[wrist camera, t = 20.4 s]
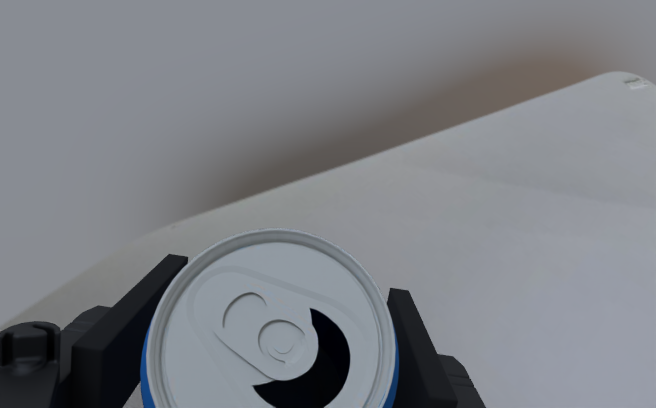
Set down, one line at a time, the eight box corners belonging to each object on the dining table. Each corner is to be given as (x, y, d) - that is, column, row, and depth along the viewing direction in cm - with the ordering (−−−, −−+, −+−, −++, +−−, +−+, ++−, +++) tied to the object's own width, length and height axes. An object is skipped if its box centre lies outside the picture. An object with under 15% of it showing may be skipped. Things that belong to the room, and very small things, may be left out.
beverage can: (285, 520, 18) (308, 598, 7) (169, 421, 19) (54, 371, 9) (365, 384, 21) (458, 306, 11) (261, 307, 22) (255, 173, 12)
